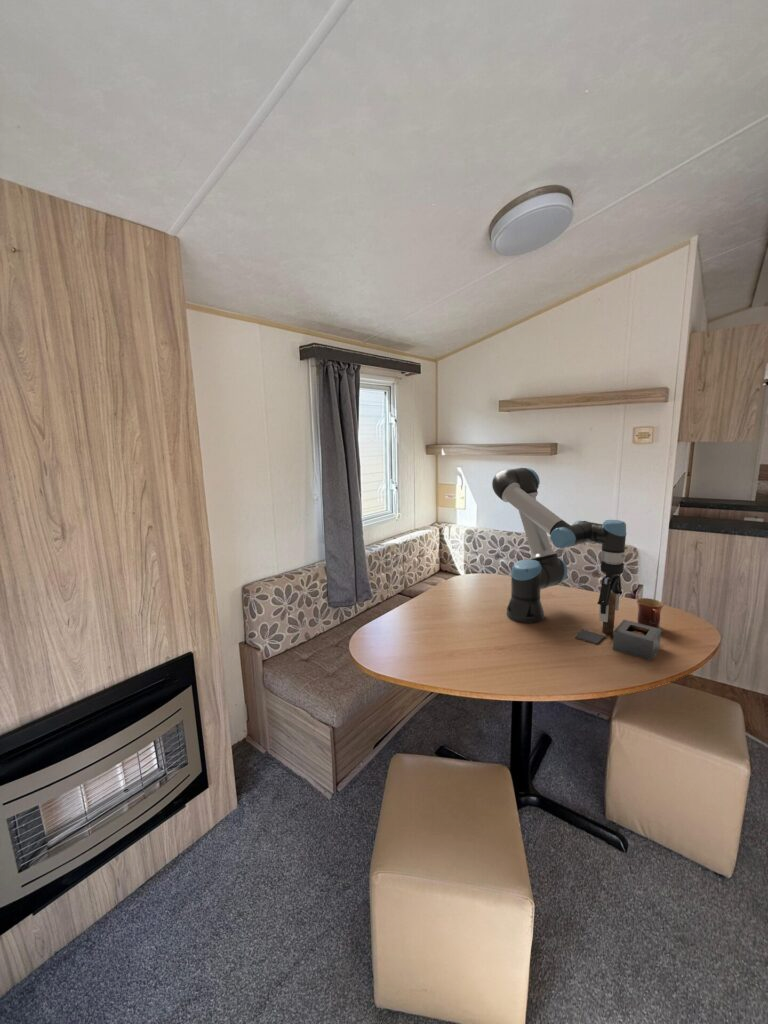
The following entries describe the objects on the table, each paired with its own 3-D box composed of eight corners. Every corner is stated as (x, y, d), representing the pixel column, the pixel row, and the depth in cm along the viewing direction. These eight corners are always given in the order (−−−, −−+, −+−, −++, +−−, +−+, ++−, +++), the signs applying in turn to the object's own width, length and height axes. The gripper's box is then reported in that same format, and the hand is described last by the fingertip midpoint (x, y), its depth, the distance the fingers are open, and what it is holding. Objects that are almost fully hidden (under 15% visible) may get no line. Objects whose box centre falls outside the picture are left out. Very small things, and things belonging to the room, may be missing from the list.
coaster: (574, 638, 156) (574, 636, 156) (582, 630, 161) (582, 629, 161) (597, 644, 150) (597, 643, 150) (604, 636, 156) (604, 635, 156)
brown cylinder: (600, 633, 159) (603, 593, 156) (604, 629, 161) (606, 591, 158) (611, 636, 156) (614, 596, 153) (614, 632, 159) (617, 593, 156)
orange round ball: (628, 642, 146) (628, 634, 146) (631, 637, 149) (632, 629, 149) (642, 646, 143) (643, 638, 143) (645, 641, 146) (646, 633, 146)
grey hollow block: (612, 649, 147) (613, 630, 145) (622, 637, 155) (623, 619, 154) (651, 660, 138) (653, 641, 137) (659, 647, 147) (661, 629, 146)
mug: (631, 621, 168) (633, 597, 166) (655, 622, 166) (657, 598, 164) (643, 635, 156) (645, 609, 154) (669, 636, 154) (671, 610, 152)
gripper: (613, 572, 142) (609, 629, 146) (632, 555, 160) (629, 607, 163) (590, 567, 147) (587, 623, 151) (611, 552, 165) (608, 602, 169)
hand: (609, 615), depth 157 cm, fingers open, 13 cm apart
